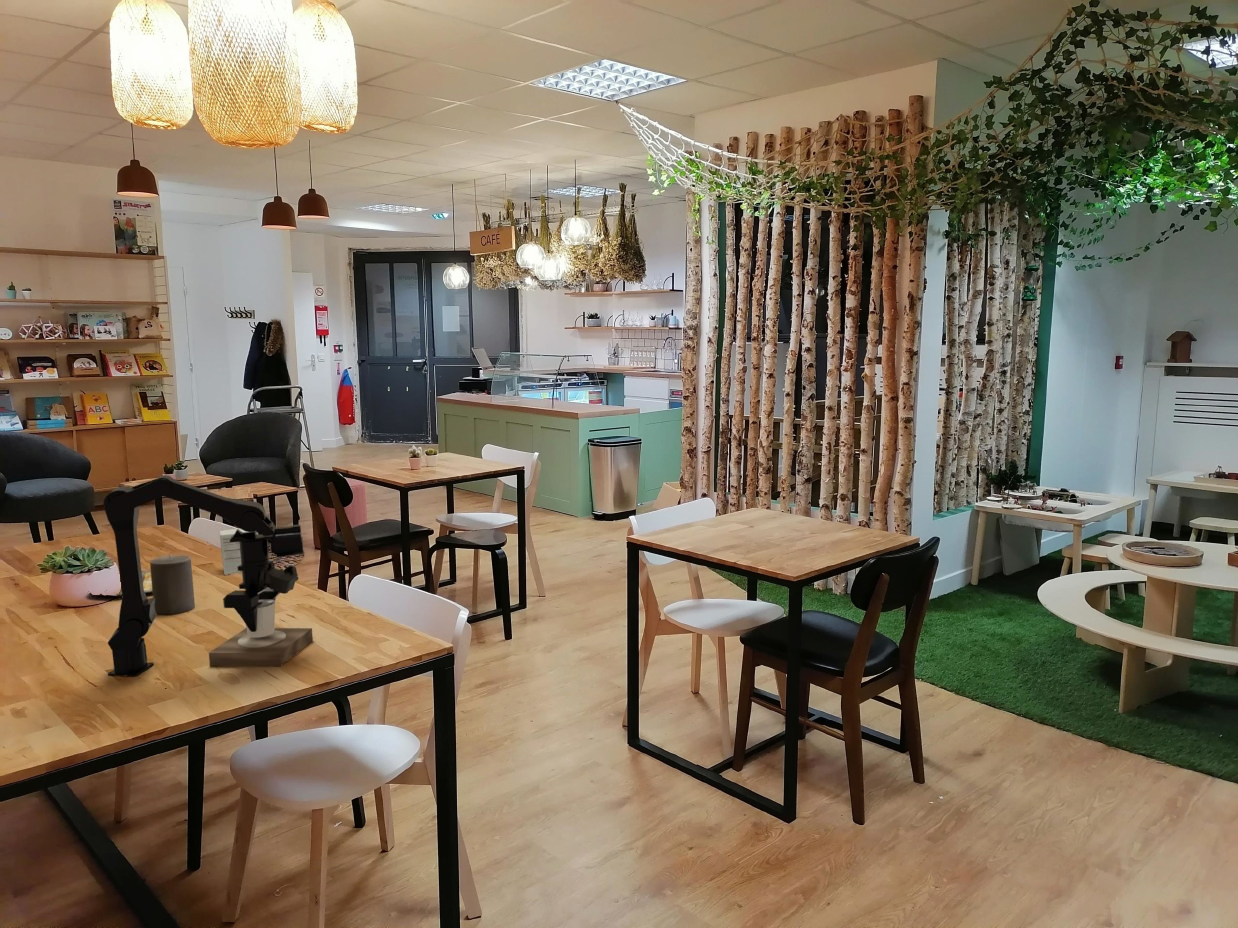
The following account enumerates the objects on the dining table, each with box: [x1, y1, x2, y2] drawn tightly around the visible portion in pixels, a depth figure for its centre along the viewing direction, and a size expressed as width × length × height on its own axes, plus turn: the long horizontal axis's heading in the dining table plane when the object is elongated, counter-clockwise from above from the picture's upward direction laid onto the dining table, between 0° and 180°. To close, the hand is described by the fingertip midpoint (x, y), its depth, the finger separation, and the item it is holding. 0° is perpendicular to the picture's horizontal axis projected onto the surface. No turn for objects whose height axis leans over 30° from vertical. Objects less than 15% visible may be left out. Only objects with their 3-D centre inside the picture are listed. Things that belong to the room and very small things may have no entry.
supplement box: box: [219, 528, 247, 576], centre depth 264 cm, size 7×7×13 cm
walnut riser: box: [208, 627, 314, 667], centre depth 194 cm, size 16×16×4 cm
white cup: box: [245, 599, 276, 637], centre depth 193 cm, size 7×7×7 cm
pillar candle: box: [149, 554, 196, 616], centre depth 227 cm, size 10×10×15 cm
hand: (260, 626), depth 193 cm, fingers closed on white cup, 6 cm apart
